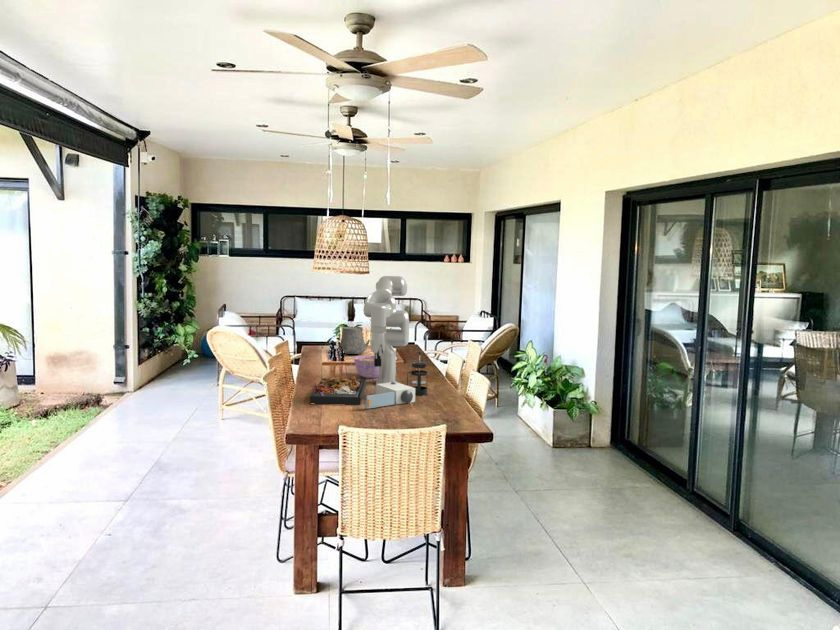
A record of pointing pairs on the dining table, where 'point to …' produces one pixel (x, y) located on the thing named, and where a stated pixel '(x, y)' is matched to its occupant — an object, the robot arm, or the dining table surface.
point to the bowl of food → (366, 366)
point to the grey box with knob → (403, 391)
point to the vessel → (353, 340)
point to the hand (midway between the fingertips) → (377, 366)
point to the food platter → (339, 391)
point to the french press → (419, 377)
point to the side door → (381, 400)
